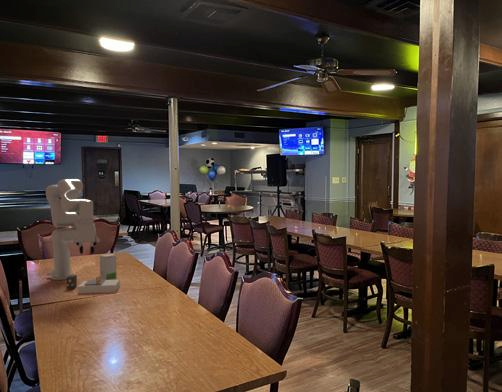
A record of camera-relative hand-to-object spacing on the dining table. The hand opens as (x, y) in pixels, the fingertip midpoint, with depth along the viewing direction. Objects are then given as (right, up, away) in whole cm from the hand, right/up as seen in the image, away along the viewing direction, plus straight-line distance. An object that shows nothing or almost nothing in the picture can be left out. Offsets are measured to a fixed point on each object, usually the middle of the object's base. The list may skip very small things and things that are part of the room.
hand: (86, 253), depth 219 cm
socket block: (+7, -21, +2) cm, 22 cm away
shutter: (+4, -17, +1) cm, 18 cm away
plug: (-11, -21, +6) cm, 25 cm away
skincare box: (+3, -20, +25) cm, 32 cm away
